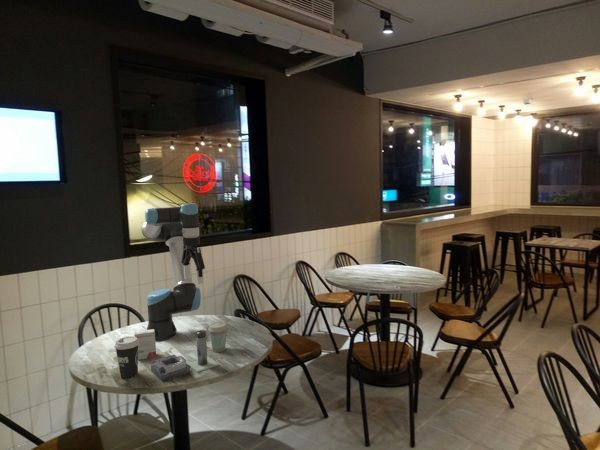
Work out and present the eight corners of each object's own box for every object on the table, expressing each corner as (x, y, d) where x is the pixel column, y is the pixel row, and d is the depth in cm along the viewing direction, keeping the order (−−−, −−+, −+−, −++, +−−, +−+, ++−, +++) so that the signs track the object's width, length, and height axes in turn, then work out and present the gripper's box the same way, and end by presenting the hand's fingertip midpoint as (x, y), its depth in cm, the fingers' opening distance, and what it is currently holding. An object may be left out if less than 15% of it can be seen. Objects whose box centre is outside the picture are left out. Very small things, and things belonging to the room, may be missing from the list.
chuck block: (151, 371, 178) (150, 361, 177) (178, 363, 185) (178, 353, 185) (162, 381, 168) (161, 370, 168) (190, 372, 176) (190, 361, 175)
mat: (187, 364, 183) (186, 363, 183) (208, 358, 190) (208, 356, 189) (197, 372, 176) (197, 370, 176) (219, 365, 182) (218, 363, 182)
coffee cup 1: (121, 370, 179) (118, 336, 178) (144, 369, 180) (141, 334, 179) (113, 381, 170) (110, 345, 168) (137, 379, 171) (135, 343, 169)
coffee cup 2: (224, 354, 193) (222, 328, 192) (206, 353, 195) (205, 327, 194) (230, 346, 202) (229, 322, 200) (213, 345, 203) (212, 321, 202)
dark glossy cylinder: (196, 363, 183) (194, 331, 181) (205, 360, 185) (203, 329, 184) (200, 366, 180) (198, 334, 178) (209, 363, 182) (207, 332, 181)
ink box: (156, 353, 197) (154, 328, 196) (156, 357, 192) (154, 331, 191) (136, 355, 194) (134, 330, 193) (136, 360, 190) (134, 334, 188)
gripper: (172, 234, 206) (175, 277, 208) (195, 240, 186) (198, 287, 189) (187, 233, 210) (189, 275, 213) (210, 238, 191) (213, 284, 194)
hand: (193, 281), depth 201 cm, fingers open, 13 cm apart
